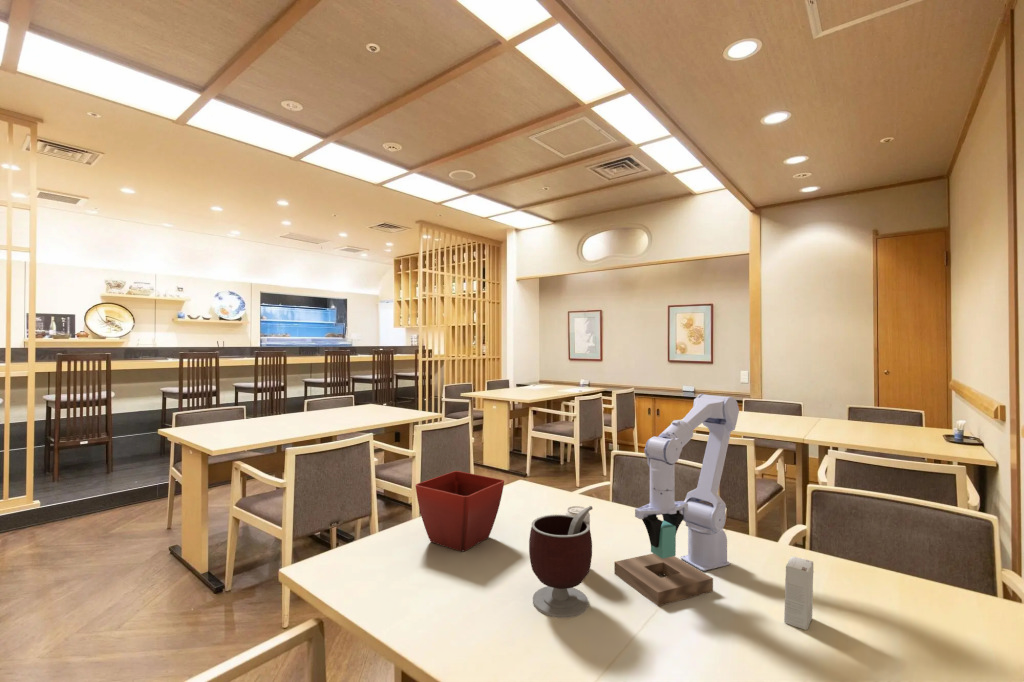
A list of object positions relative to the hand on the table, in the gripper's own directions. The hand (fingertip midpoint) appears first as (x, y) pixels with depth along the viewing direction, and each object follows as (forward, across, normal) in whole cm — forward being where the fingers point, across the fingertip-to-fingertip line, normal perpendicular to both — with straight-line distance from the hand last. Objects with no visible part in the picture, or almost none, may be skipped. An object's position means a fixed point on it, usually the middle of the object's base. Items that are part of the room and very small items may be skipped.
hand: (662, 544), depth 115 cm
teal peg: (+2, 0, 0) cm, 2 cm away
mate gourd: (+9, -26, +2) cm, 28 cm away
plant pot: (+9, -37, +43) cm, 58 cm away
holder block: (+9, 0, 0) cm, 9 cm away
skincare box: (+9, +15, -24) cm, 30 cm away
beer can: (+9, -15, +14) cm, 23 cm away
